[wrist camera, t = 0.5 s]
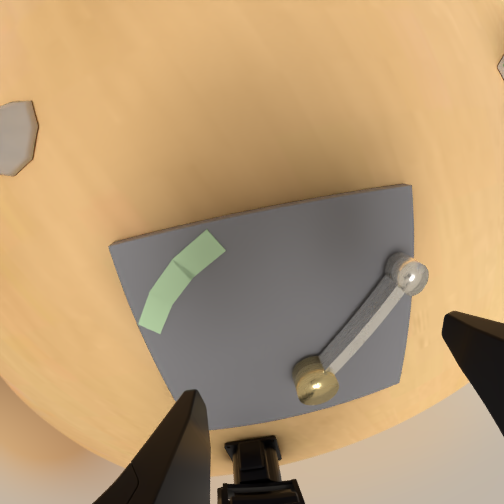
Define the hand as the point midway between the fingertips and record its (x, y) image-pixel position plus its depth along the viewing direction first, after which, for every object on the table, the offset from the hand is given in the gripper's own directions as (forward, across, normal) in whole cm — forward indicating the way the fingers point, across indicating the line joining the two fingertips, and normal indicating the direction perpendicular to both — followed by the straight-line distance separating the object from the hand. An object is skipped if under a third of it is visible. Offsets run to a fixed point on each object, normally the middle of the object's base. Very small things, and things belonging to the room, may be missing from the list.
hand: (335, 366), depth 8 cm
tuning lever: (+12, -5, +8) cm, 16 cm away
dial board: (+14, 0, +8) cm, 16 cm away
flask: (+14, +20, -15) cm, 29 cm away
